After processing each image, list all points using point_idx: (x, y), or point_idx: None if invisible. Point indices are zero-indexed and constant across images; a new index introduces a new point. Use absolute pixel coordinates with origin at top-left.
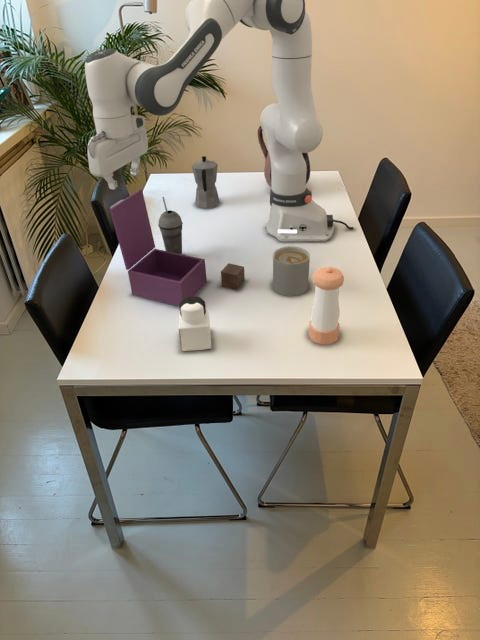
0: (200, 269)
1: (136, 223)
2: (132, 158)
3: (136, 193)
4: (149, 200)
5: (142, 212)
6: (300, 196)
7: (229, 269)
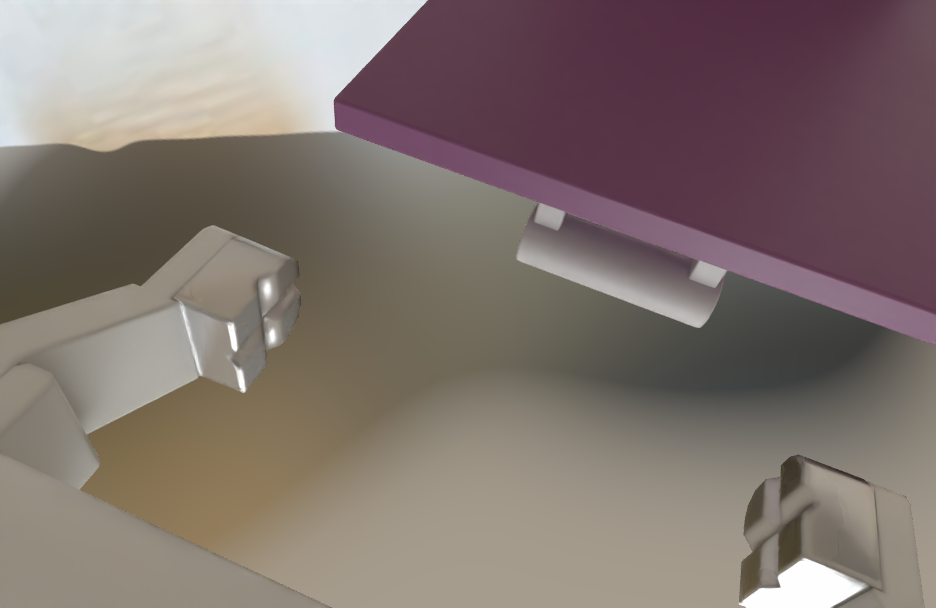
0: None
1: (665, 21)
2: (130, 596)
3: (457, 138)
4: (41, 123)
5: (519, 8)
6: None
7: None
